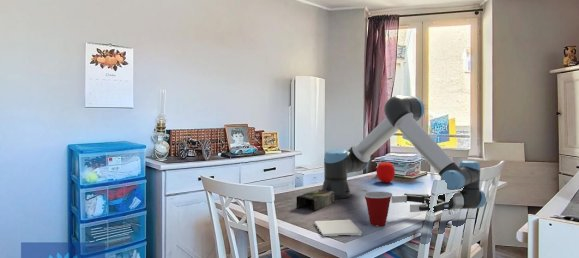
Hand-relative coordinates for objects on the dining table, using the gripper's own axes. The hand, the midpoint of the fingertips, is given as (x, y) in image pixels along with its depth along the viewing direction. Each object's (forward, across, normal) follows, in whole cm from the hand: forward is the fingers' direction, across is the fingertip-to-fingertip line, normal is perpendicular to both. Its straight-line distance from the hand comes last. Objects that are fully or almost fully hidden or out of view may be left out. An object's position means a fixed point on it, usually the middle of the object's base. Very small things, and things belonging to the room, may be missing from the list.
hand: (400, 203), depth 135 cm
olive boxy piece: (+25, +30, -8) cm, 40 cm away
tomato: (-32, +71, -7) cm, 78 cm away
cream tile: (+27, -2, -7) cm, 28 cm away
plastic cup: (+10, 0, -8) cm, 12 cm away
